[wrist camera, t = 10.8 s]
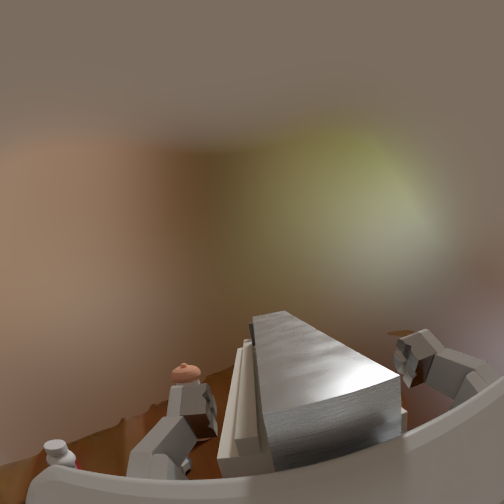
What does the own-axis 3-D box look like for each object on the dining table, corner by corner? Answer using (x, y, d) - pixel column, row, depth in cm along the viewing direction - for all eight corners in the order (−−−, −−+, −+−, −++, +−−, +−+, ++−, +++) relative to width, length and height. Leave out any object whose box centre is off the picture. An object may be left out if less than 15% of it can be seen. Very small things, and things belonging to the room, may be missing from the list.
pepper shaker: (209, 442, 53) (189, 367, 56) (182, 440, 55) (161, 368, 57) (220, 428, 60) (203, 358, 63) (195, 427, 62) (177, 360, 64)
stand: (377, 594, 7) (404, 355, 11) (285, 616, 7) (200, 403, 10) (324, 478, 33) (300, 313, 37) (269, 490, 33) (233, 325, 37)
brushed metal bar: (399, 473, 6) (399, 375, 7) (283, 508, 6) (262, 413, 7) (290, 341, 34) (284, 310, 34) (258, 347, 34) (252, 316, 34)
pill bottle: (84, 501, 26) (58, 453, 28) (59, 495, 26) (34, 448, 27) (95, 485, 33) (74, 439, 34) (71, 480, 32) (50, 436, 33)
